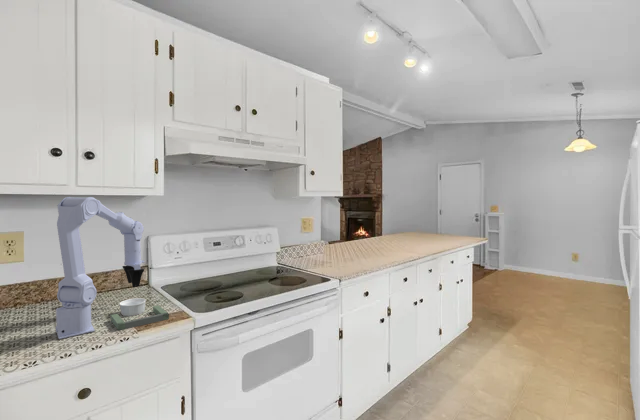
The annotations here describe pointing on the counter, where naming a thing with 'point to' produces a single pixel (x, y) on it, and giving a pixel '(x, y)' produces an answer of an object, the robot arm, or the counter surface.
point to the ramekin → (132, 306)
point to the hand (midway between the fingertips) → (133, 284)
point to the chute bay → (159, 316)
